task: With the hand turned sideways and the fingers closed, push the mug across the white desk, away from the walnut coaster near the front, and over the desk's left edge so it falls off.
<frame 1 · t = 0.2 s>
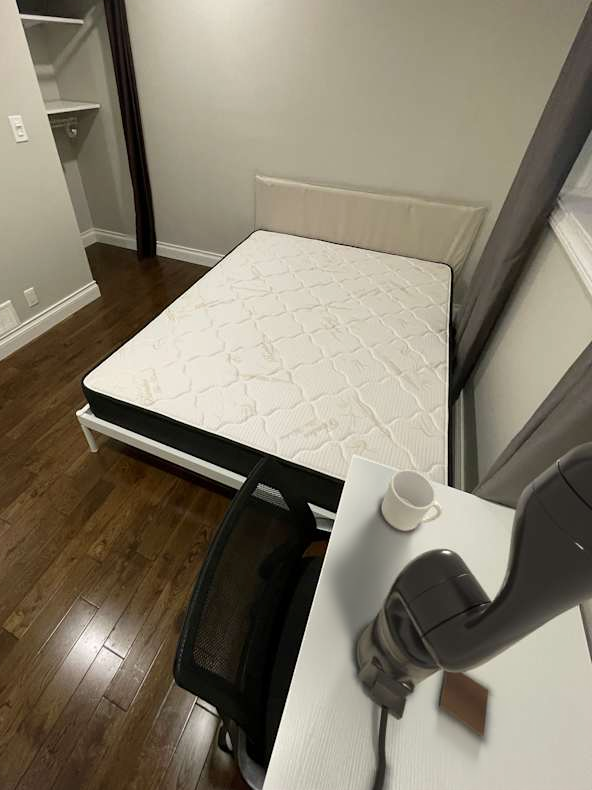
coaster: (462, 698, 58), on the table
mug: (403, 516, 81), on the table
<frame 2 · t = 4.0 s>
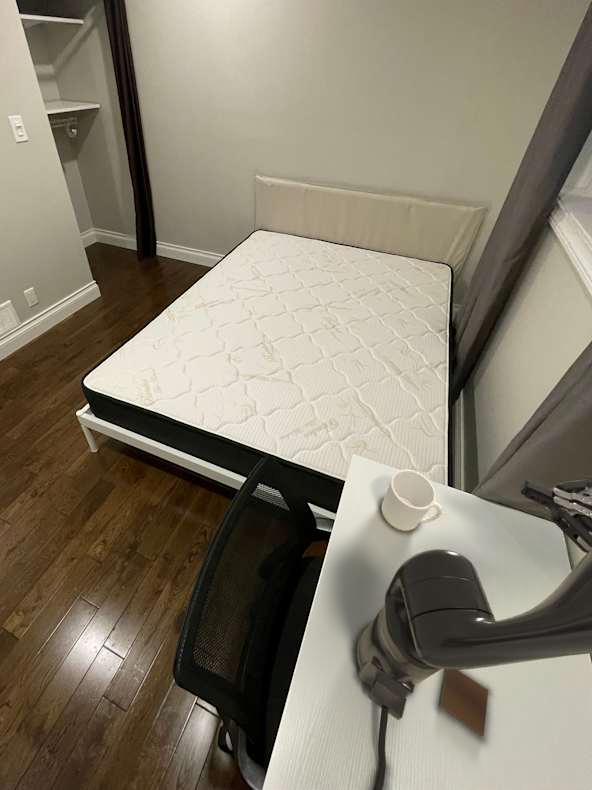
hand: (522, 486, 61), 24 cm above the table, tool horizontal, fingers closed
nothing on the table moved.
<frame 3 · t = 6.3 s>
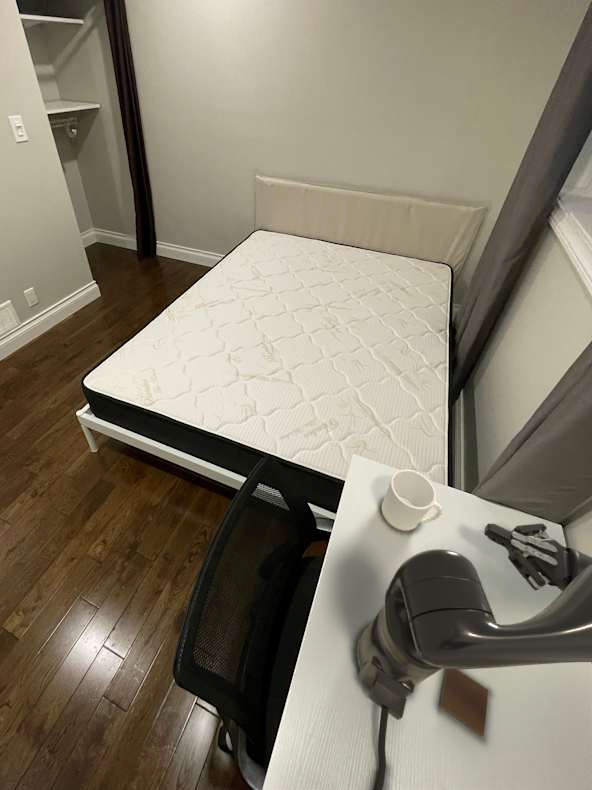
hand: (486, 528, 70), 9 cm above the table, tool horizontal, fingers closed
nothing on the table moved.
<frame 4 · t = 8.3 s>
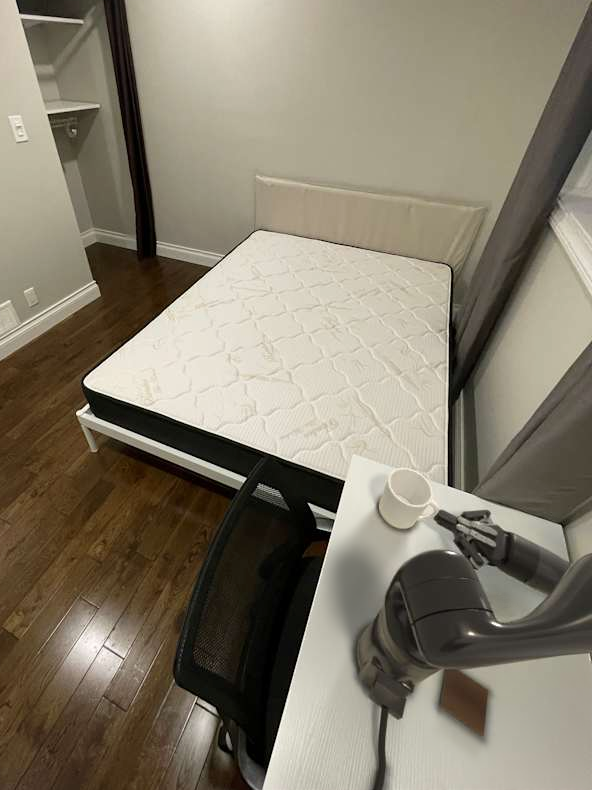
hand: (435, 514, 75), 6 cm above the table, tool horizontal, fingers closed
mug: (401, 515, 81), on the table, touching gripper
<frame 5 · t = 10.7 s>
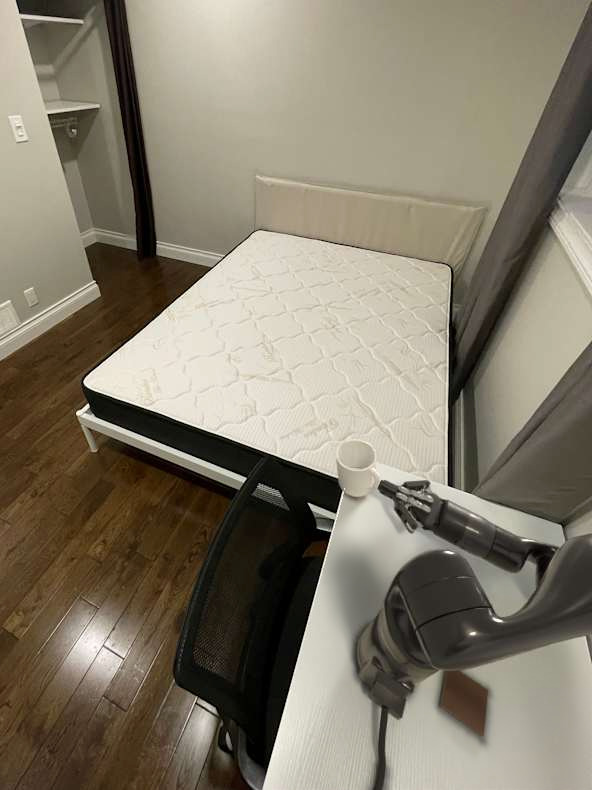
hand: (378, 484, 80), 6 cm above the table, tool horizontal, fingers closed
mug: (358, 486, 86), on the table
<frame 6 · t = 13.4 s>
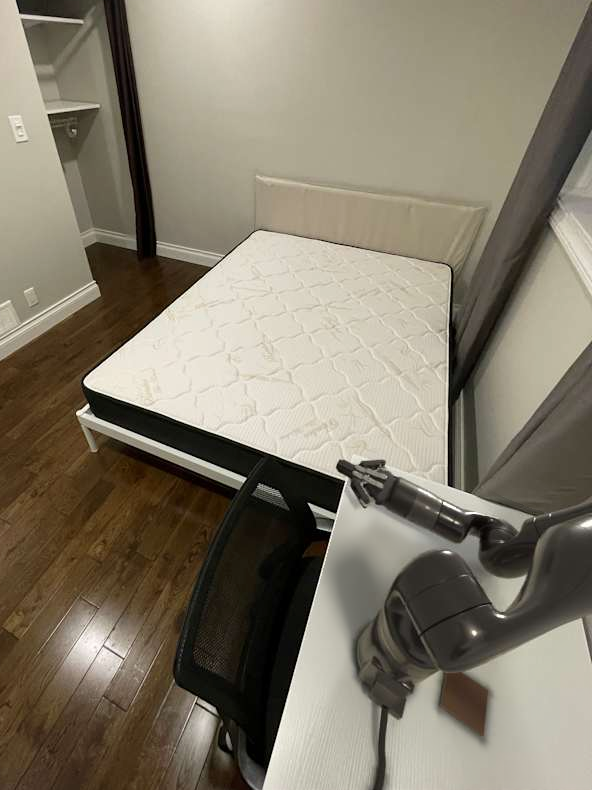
hand: (337, 463, 84), 6 cm above the table, tool horizontal, fingers closed
mug: (291, 563, 128), on the floor
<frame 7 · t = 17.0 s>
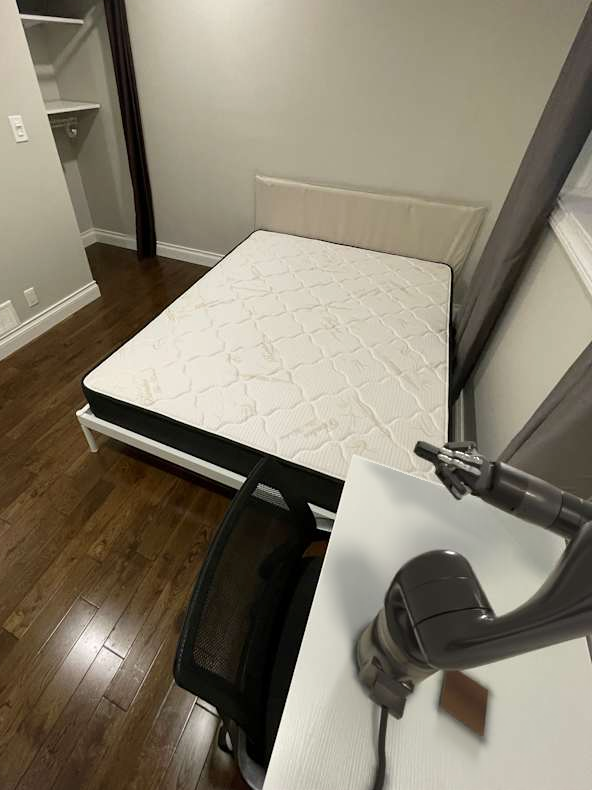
hand: (415, 446, 69), 22 cm above the table, tool horizontal, fingers closed
nothing on the table moved.
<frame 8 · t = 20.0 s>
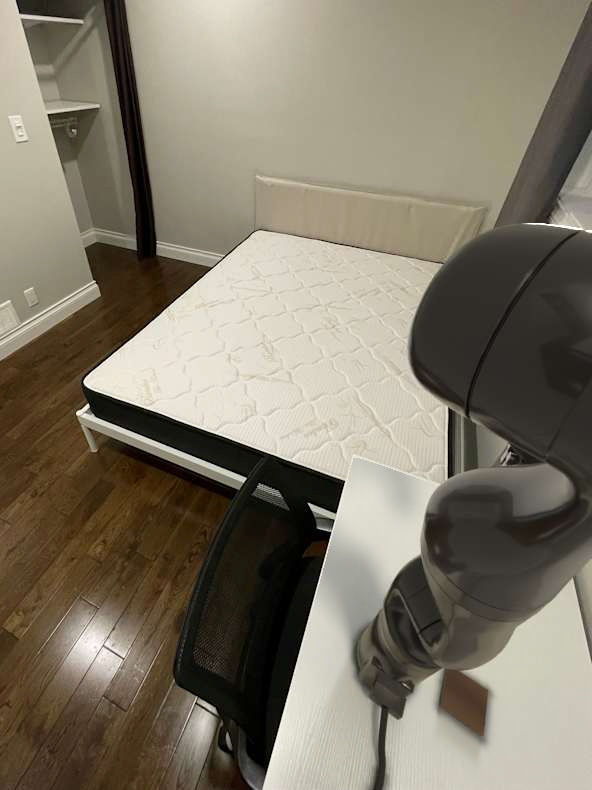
hand: (493, 495, 56), 27 cm above the table, tool pointing down, fingers closed
nothing on the table moved.
at the end: mug inside the target area under the coaster (16.4 cm from its centre), on the floor; mug moved 63.5 cm from its start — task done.
